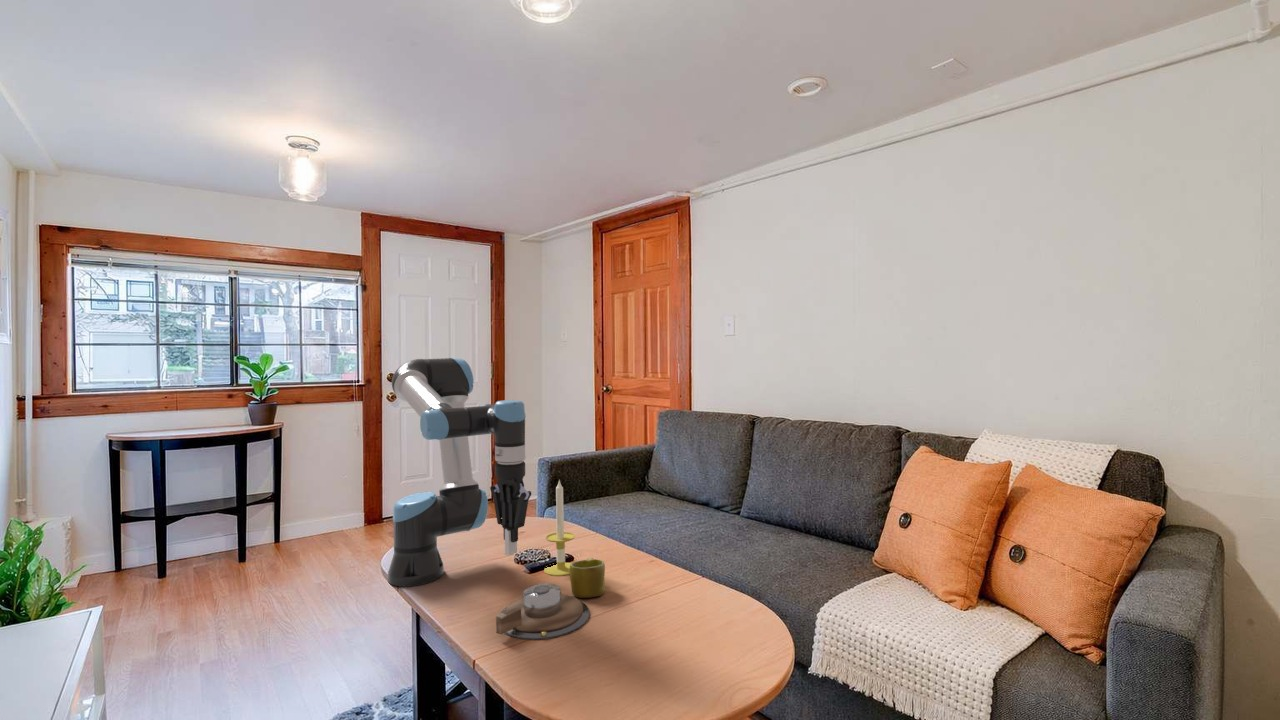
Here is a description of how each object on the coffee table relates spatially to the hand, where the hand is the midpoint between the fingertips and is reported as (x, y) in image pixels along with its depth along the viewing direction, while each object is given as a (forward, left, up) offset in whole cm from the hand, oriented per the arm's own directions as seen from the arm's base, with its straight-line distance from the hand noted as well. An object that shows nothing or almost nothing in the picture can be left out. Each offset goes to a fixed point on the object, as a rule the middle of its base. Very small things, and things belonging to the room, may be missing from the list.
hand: (510, 553), depth 145 cm
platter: (+12, -2, -12) cm, 17 cm away
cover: (+11, 0, -12) cm, 16 cm away
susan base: (+12, 0, -13) cm, 18 cm away
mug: (+11, +18, -14) cm, 25 cm away
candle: (-6, +25, -14) cm, 29 cm away
